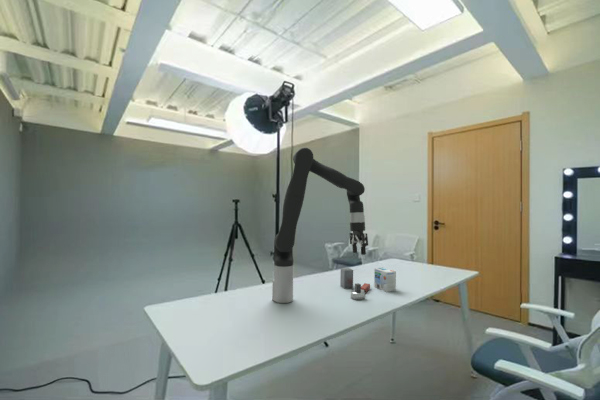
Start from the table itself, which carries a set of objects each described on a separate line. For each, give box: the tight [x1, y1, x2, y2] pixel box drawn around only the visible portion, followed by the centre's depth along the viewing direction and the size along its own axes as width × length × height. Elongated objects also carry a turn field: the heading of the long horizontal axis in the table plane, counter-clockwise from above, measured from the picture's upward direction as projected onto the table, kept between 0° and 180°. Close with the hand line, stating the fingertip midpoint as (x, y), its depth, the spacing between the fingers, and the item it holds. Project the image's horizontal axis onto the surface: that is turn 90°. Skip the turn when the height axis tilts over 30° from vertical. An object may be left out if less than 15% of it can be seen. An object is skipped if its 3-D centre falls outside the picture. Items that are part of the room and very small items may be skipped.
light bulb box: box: [373, 267, 397, 293], centre depth 159 cm, size 11×7×11 cm, turn 25°
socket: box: [339, 267, 354, 289], centre depth 162 cm, size 5×5×10 cm
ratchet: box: [350, 282, 371, 301], centre depth 150 cm, size 23×7×7 cm, turn 153°
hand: (359, 253), depth 143 cm, fingers open, 8 cm apart
